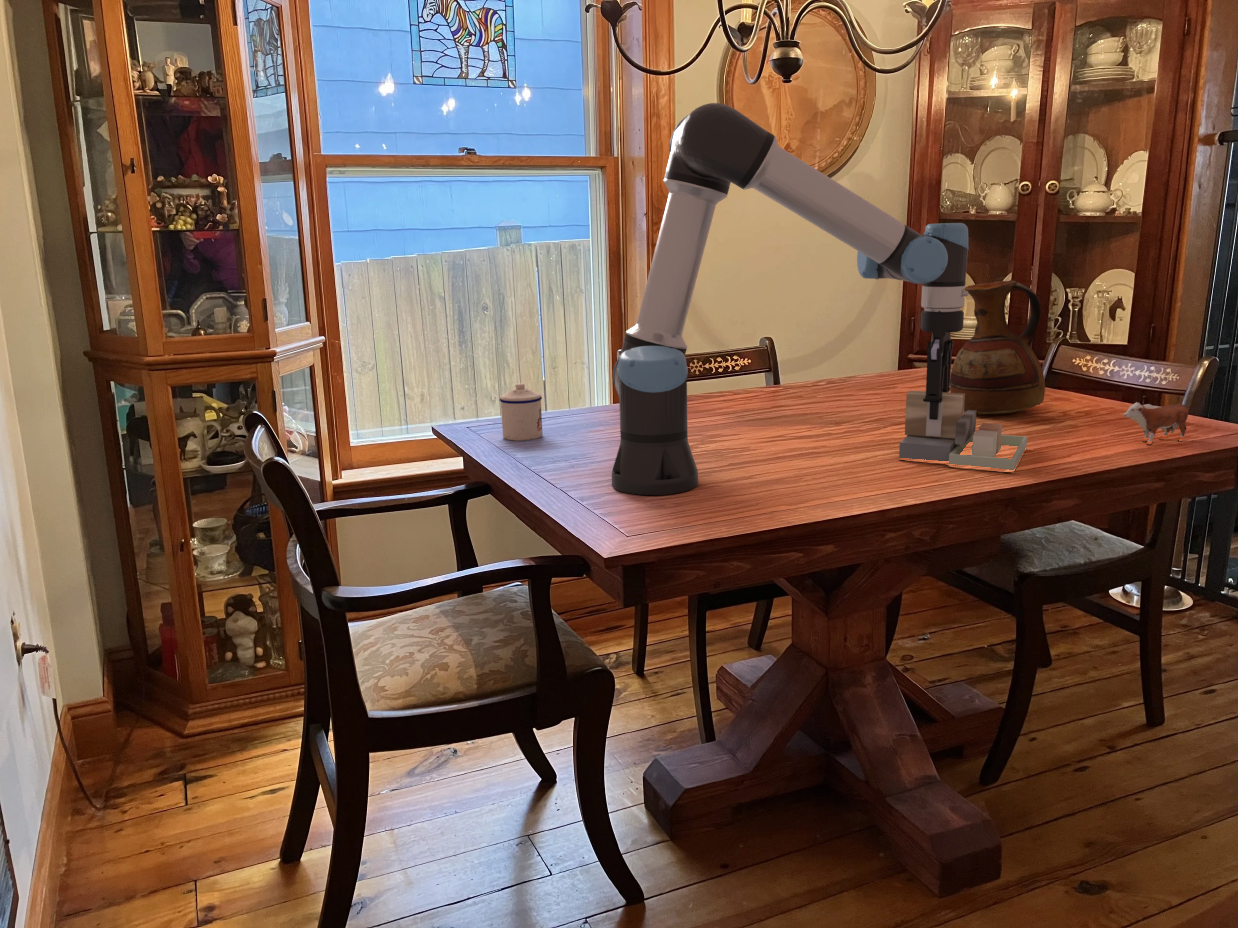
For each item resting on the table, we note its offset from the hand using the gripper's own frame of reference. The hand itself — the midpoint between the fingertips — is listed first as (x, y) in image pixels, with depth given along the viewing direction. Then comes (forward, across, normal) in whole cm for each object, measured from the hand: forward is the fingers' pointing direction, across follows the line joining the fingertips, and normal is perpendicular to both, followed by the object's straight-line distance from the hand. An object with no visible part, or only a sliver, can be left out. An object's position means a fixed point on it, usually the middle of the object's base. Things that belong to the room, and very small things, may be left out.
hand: (935, 433), depth 181 cm
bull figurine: (+4, +25, -37) cm, 45 cm away
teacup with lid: (+4, -15, +85) cm, 86 cm away
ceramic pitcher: (+4, +45, -5) cm, 45 cm away
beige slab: (0, 0, 0) cm, 1 cm away
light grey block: (+1, -3, -8) cm, 8 cm away
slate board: (+4, 0, 0) cm, 4 cm away
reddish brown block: (+1, +4, -8) cm, 9 cm away
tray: (+4, 0, -10) cm, 11 cm away
